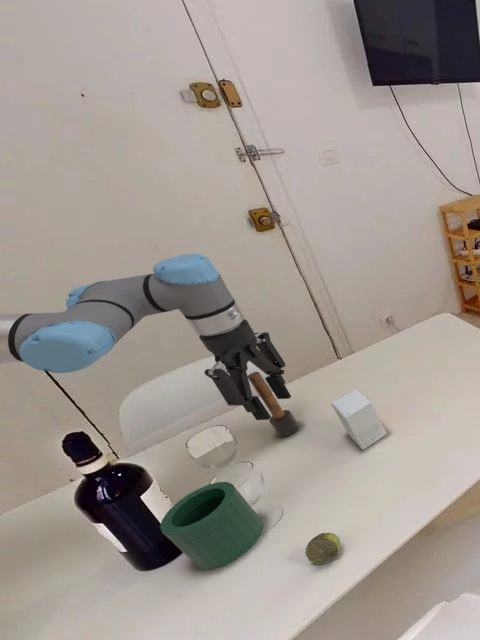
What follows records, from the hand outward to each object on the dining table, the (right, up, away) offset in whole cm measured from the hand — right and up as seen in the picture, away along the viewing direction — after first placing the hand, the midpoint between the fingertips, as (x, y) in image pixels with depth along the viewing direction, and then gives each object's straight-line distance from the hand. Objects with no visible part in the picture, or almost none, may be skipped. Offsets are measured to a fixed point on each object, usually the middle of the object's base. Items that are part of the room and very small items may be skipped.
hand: (274, 407), depth 95 cm
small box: (+20, -7, +2) cm, 22 cm away
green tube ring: (+9, -19, -19) cm, 28 cm away
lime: (+29, -20, -21) cm, 41 cm away
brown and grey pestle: (0, -7, +4) cm, 8 cm away
